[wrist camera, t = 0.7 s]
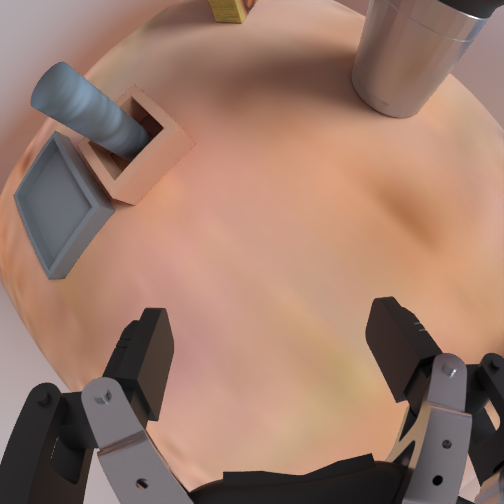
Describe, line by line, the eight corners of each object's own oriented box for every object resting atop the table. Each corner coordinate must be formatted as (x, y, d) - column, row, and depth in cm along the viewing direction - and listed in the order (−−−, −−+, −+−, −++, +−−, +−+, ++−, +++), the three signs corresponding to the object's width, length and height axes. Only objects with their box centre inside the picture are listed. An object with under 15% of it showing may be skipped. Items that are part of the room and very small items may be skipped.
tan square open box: (151, 101, 29) (134, 83, 24) (195, 143, 28) (180, 126, 23) (99, 156, 29) (77, 145, 25) (135, 205, 28) (112, 197, 24)
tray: (68, 137, 30) (55, 130, 28) (115, 210, 29) (99, 206, 26) (26, 199, 32) (13, 196, 29) (64, 278, 30) (48, 279, 27)
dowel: (146, 128, 29) (60, 55, 13) (164, 146, 28) (72, 71, 12) (123, 152, 29) (27, 95, 13) (139, 172, 28) (35, 116, 13)
